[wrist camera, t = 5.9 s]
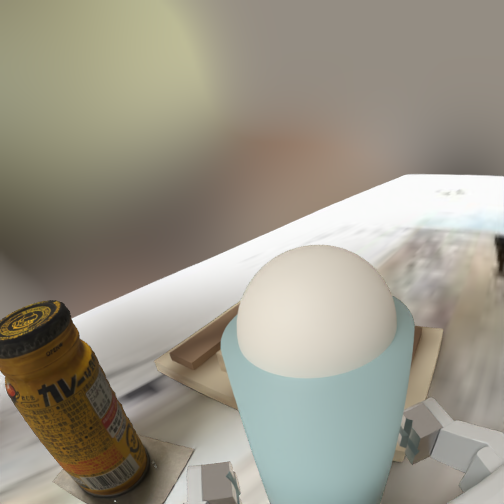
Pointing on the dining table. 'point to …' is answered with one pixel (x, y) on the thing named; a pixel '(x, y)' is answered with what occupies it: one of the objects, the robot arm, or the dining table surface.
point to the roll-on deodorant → (320, 375)
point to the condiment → (81, 412)
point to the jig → (218, 384)
